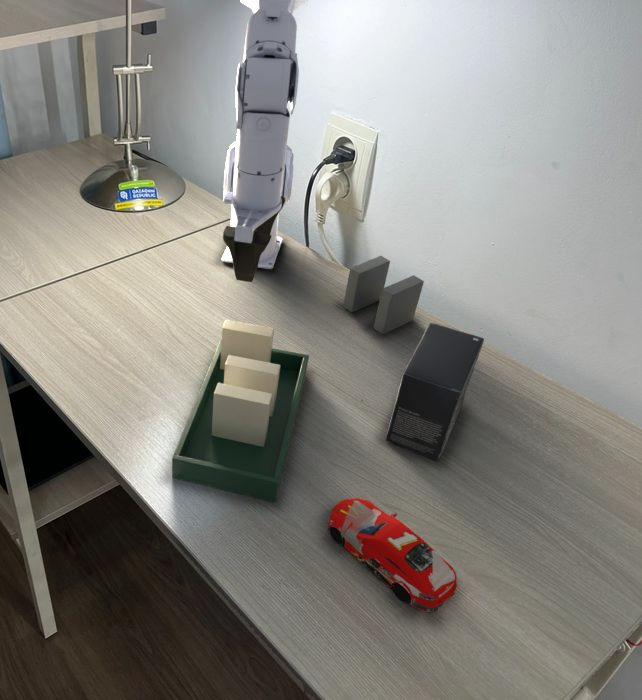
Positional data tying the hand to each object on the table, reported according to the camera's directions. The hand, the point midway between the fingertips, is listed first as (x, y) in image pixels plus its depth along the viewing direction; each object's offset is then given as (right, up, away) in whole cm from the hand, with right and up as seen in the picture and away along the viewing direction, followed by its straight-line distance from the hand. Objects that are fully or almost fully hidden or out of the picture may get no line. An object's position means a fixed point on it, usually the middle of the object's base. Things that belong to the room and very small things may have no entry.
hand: (250, 264), depth 90 cm
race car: (+11, -31, -23) cm, 40 cm away
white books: (-2, -19, -9) cm, 22 cm away
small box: (+19, -20, -9) cm, 29 cm away
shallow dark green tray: (-2, -19, -9) cm, 22 cm away
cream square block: (-1, -14, -3) cm, 14 cm away
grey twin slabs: (+19, -6, +8) cm, 21 cm away
